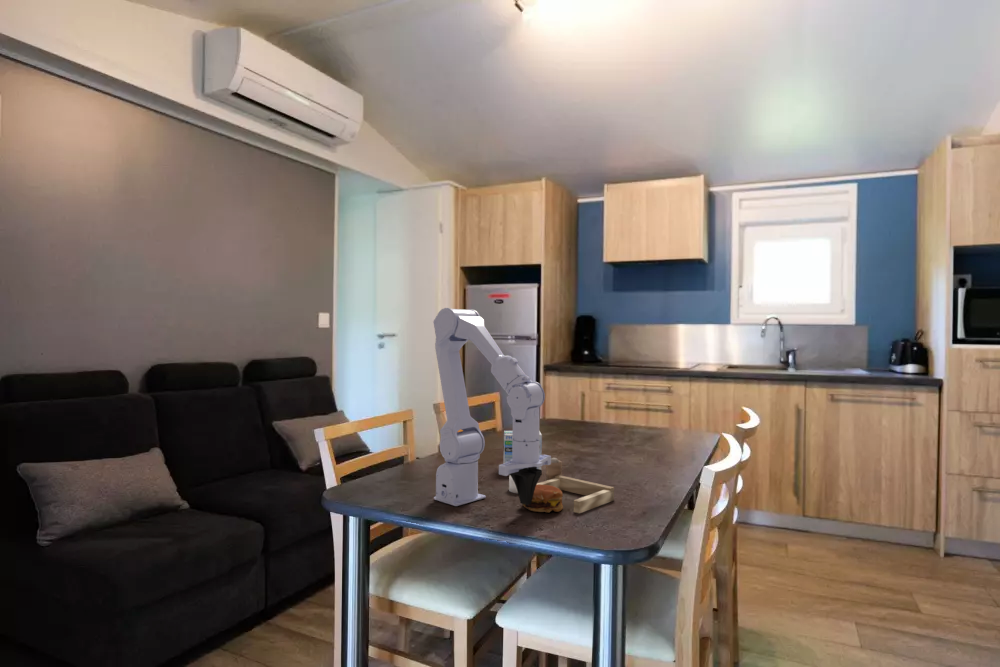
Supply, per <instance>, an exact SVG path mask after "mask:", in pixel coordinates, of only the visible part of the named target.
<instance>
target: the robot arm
mask: <svg viewBox="0 0 1000 667" xmlns="http://www.w3.org/2000/svg"><path fill="white" fill-rule="evenodd" d="M432 322H433V328H434V334H435V343H434V345H435V346H434V348H435V355H436V361H437V366H438V372H439V378H440V384H441V385H440V386H441V391H442V396H443V403H444V409H445V415H446V421H445V423H444V424H443V425H442V427H441V428H440V429H439V434H440V441H439V451H440V454H441V456H442V457H443V458H444V463H442V464H440V465H439V466H438V467H437V469H436V471H435V472H436V473H435V496H433V499H434V500H435V501H439V502H441V503H443V504H447V505H451V506H454V507H458V506H462V505H466V504H468V503H472V502H476V501H479V500H482V499H486V498H487V496H486V495H485V494H481V493H479V490H478V489H479V484H478V483H479V459H480V458H481V457H480V456H481V455H480V454H482V453H483V451H484V449H485V446H486V444H485V443H486V442H485V437H484V435H483V432H482V431H481V429H480V424H479V422H478V421H477V420H476V419H474V418H473V417H472V416H471V412H470V408H469V399H468V394H467V389H466V384H465V376H464V372H463V371H464V370H463V366H462V359H461V354H460V353H461V352H460V351H461V349H462V347H463V346H464V345H465V344H466V343H468V342H469V341H470V342H472V344H473V345H474V346H475V347H476V348H477V349H478V350H479V352H480V353H481V354H482V355H483V357H484V358H485V359H486V360H487V361H488V362H489V363H490V364H491V367H490V373H491V374H492V376H493V377H494V378H495V379H496V381H497V382H498V384H499V385H500V386H501V388H502V389H503V391H505V393H506V394H507V396H506V402H507V405H508V406H509V408H510V416H511V417H512V431H513V439H512V460H510V461H508V462H506V463H504V464H503V463H501V464H498V475H500V476H504V477H507V476H510V475H511V477H512V479H513V481H514V483H515V485H516V488H517V491H518V493H517V494H518V499H519V502H520V504H525V505H529V504H531V502H532V498H533V494H534V490H535V487H536V484H537V483H539V480H540V478H541V476H542V475H543V470H542V469H541V470H540V469H537V467H540V466H541V467H543V466H546V465H550V464H551V458H552V456H551V455H548V454H542V455H539V431H540V407H542V406H543V404H544V402H545V398H546V397H545V396H546V394H545V391H544V388H543V386H542V385H541V383H539V382H537V381H534V380H531V377H530V376H529V375H526V373H525V372H524V371H523V369H522V368H521V367H520V365H519V364H518V363H519V361H518V359H517V358H516V357H513V356H511V355H504V353H503V352H502V350H501V348H500V347H499V346H498V344H497V342H496V341H495V339H494V338H493V337H492V335H491V334H490V331H488V329H487V328H486V326H485V319H484V318H483V317H482V316H480V313H479V312H478V311H477V310H475V309H472V308H470V309H469V308H468V309H463V308H461V309H460V308H450V307H444V308H442V309H440V310H439V312H438V313H437V314H436V316H435V318H434V319H433V321H432ZM460 430H462V431H460Z"/></svg>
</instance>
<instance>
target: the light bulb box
mask: <svg viewBox="0 0 1000 667" xmlns="http://www.w3.org/2000/svg"><path fill="white" fill-rule="evenodd" d="M512 439H513V430H503V459H502V460H503V461H502V462H503V463H502V464H504V463H506V462H508V461H510V460H512ZM542 447H543V434H542V433H541V431H540V430H539V455H543V453H542V451H543V448H542ZM537 469H540V470H542V466H540V467H537Z"/></svg>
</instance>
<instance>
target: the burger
mask: <svg viewBox="0 0 1000 667" xmlns="http://www.w3.org/2000/svg"><path fill="white" fill-rule="evenodd" d="M563 496H564V495H563V490H560V489H559V488H557V487H554V486H550V485H541V484H538V485H536V487H535V490H534V494H533V498H532V502H531V504H529V505H525V504H522V507H524V508H525V509H528V510H529V511H531V512H536V513H537V512H538V513H544V512H545V513H550V512H552V511H554V512H555V513H557V512H561V511H562V510H563V509H564V505H563Z"/></svg>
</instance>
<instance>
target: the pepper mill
mask: <svg viewBox="0 0 1000 667" xmlns="http://www.w3.org/2000/svg"><path fill="white" fill-rule="evenodd" d="M545 467H546V468H545V481H547V480H551V479H554V478H555V476H558V475H561V476H563V461H561V460H559V459H558V458H557V457H551V464H550V465H545Z"/></svg>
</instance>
